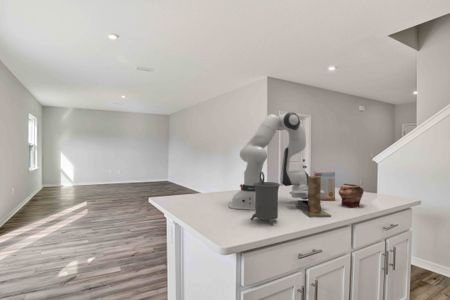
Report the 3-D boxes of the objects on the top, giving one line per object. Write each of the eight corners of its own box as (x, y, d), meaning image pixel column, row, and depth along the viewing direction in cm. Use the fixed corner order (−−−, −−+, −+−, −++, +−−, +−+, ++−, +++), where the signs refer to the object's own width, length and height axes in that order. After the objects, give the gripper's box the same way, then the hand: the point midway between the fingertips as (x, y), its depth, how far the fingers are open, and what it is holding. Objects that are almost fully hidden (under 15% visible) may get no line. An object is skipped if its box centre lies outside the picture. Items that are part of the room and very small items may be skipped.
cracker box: (332, 199, 183) (332, 171, 183) (335, 201, 177) (335, 171, 177) (312, 198, 185) (313, 170, 184) (315, 200, 179) (315, 171, 178)
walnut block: (311, 212, 141) (312, 177, 141) (308, 209, 147) (308, 176, 147) (320, 212, 141) (320, 177, 141) (316, 209, 147) (316, 176, 147)
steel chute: (309, 217, 135) (309, 209, 135) (295, 206, 160) (295, 200, 160) (331, 217, 136) (331, 209, 136) (313, 206, 161) (313, 200, 161)
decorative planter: (353, 202, 173) (353, 182, 173) (370, 206, 162) (370, 184, 162) (333, 205, 164) (333, 184, 164) (349, 209, 153) (350, 187, 153)
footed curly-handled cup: (286, 225, 121) (287, 174, 121) (258, 227, 118) (258, 175, 118) (272, 215, 140) (272, 170, 139) (247, 216, 137) (247, 171, 137)
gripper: (288, 187, 161) (294, 191, 147) (319, 187, 161) (328, 191, 147) (288, 197, 161) (294, 201, 147) (319, 197, 161) (328, 201, 148)
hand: (312, 196), depth 147 cm, fingers closed, pressing on walnut block
